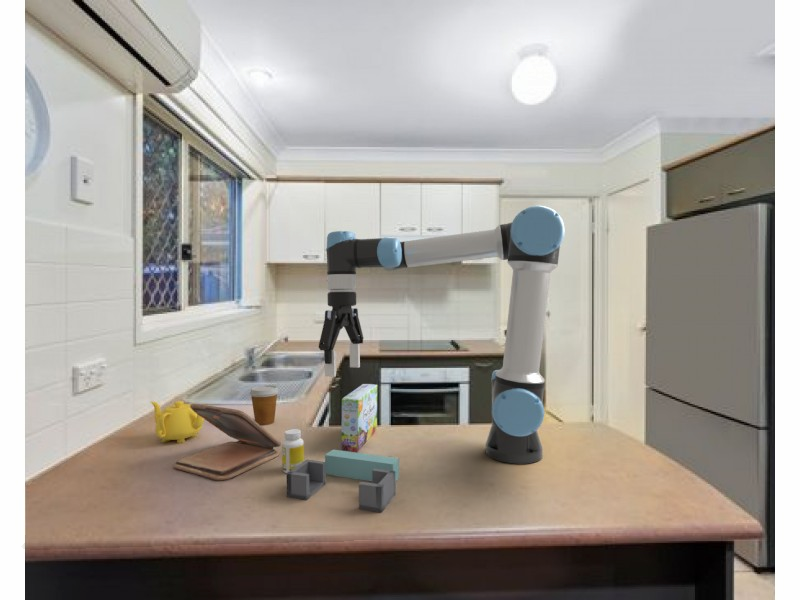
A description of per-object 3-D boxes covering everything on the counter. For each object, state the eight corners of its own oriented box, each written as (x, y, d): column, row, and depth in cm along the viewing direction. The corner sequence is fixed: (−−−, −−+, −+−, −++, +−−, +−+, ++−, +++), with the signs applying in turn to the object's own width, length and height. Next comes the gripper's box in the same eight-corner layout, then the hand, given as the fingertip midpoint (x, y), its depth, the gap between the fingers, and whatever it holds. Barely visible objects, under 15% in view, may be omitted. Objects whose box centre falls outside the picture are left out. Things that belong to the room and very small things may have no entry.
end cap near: (359, 508, 91) (358, 484, 91) (374, 491, 99) (374, 468, 99) (381, 512, 89) (381, 487, 89) (395, 494, 97) (395, 471, 97)
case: (285, 455, 122) (284, 397, 122) (223, 484, 104) (221, 416, 104) (233, 444, 132) (232, 391, 132) (168, 469, 113) (166, 407, 113)
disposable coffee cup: (284, 421, 154) (284, 386, 153) (263, 428, 145) (262, 392, 145) (266, 417, 159) (265, 384, 158) (244, 423, 151) (243, 389, 150)
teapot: (130, 445, 130) (129, 407, 130) (167, 430, 145) (166, 395, 144) (189, 450, 126) (188, 410, 126) (221, 433, 140) (220, 398, 140)
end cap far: (325, 483, 103) (325, 461, 103) (306, 500, 95) (306, 476, 95) (306, 481, 105) (306, 459, 104) (286, 496, 97) (286, 473, 97)
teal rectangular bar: (399, 478, 106) (398, 458, 106) (393, 485, 102) (392, 464, 102) (333, 468, 112) (332, 449, 112) (325, 475, 109) (324, 455, 109)
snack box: (359, 453, 123) (359, 399, 122) (340, 451, 124) (339, 398, 124) (378, 429, 143) (377, 383, 143) (361, 428, 145) (361, 382, 144)
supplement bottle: (308, 467, 113) (307, 429, 113) (296, 475, 108) (296, 435, 108) (290, 464, 115) (289, 427, 115) (277, 472, 110) (277, 433, 109)
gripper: (350, 291, 129) (352, 363, 129) (303, 291, 105) (304, 379, 106) (374, 290, 126) (375, 364, 126) (330, 291, 103) (332, 381, 103)
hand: (343, 371), depth 116 cm, fingers open, 13 cm apart
